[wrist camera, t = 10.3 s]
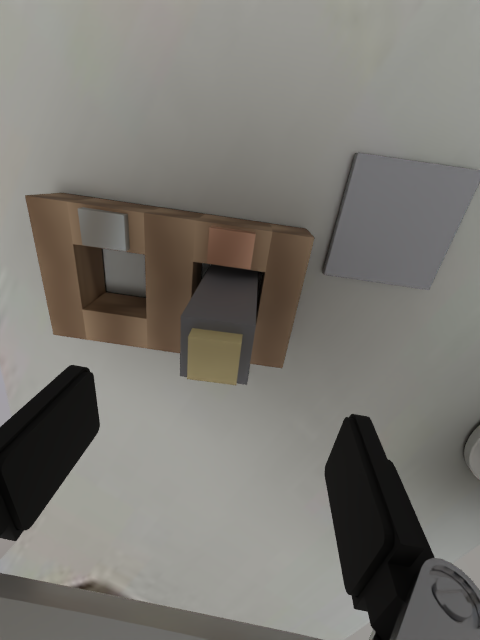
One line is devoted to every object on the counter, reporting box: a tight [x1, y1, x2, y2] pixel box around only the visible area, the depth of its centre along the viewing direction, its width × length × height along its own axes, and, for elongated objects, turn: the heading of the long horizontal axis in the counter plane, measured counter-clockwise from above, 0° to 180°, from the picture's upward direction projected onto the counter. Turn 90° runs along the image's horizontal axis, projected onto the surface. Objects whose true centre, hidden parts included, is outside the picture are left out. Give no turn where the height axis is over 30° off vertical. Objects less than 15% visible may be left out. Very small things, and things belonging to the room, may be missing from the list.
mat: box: [323, 153, 480, 290], centre depth 20 cm, size 8×8×1 cm
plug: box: [180, 264, 258, 385], centre depth 18 cm, size 4×4×11 cm
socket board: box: [25, 193, 314, 368], centre depth 21 cm, size 18×10×4 cm, turn 83°
